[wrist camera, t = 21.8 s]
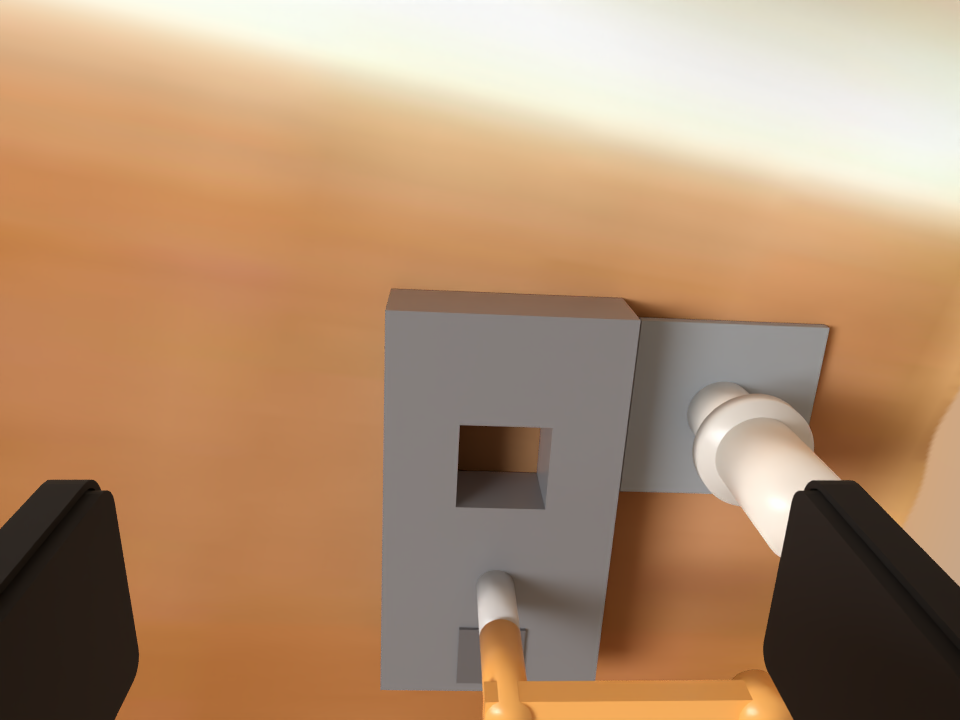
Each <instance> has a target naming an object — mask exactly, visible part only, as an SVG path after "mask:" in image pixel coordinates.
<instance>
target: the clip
mask: <svg viewBox="0 0 960 720" xmlns="http://www.w3.org/2000/svg"><path fill="white" fill-rule="evenodd" d="M479 637H480V654H481V670H482V687H483V720H793V718H792V716H791V714H790V712H789V710H788V709H787V707H786V705H785V703H784V701H783V699H782V697H781V696H780V694H779V692H778V690H777V688H776V686H775V684H774V682H773V681H772V679H771V677H770V675H769V674H768V673H767V672H765V671H762V670H747V671H744V672H741V673H739V674H738V675H736V676H735V677H734V678H733V679H732V680H634V681H527V677H526V670H525V662H524V655H523V648H522V640H521V633H520V630H519V628H518V627H517V625H516V624H514V623H513V622H511V621H509V620H505V619H497V620H493V621H491V622H489V623H487V624H486V625H485V626H484V627H483V628H482V630H481V632H480V636H479Z"/></svg>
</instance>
